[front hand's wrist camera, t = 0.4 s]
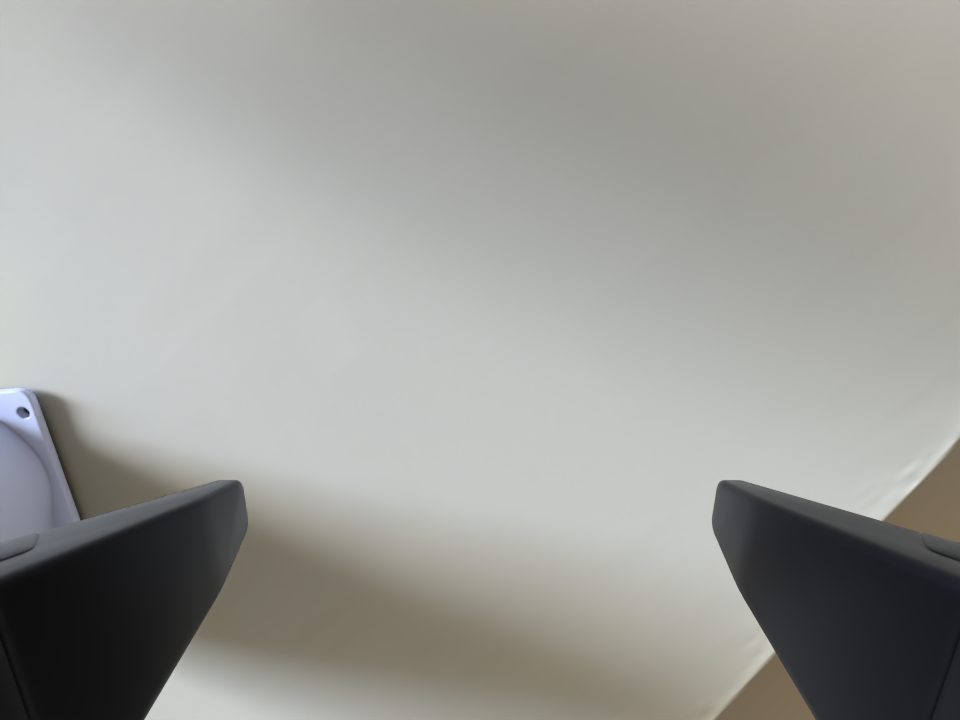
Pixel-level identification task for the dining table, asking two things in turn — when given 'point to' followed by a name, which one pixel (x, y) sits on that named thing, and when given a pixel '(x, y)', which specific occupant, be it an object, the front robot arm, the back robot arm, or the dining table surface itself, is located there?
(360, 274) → the dining table surface
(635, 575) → the dining table surface
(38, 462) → the back robot arm
